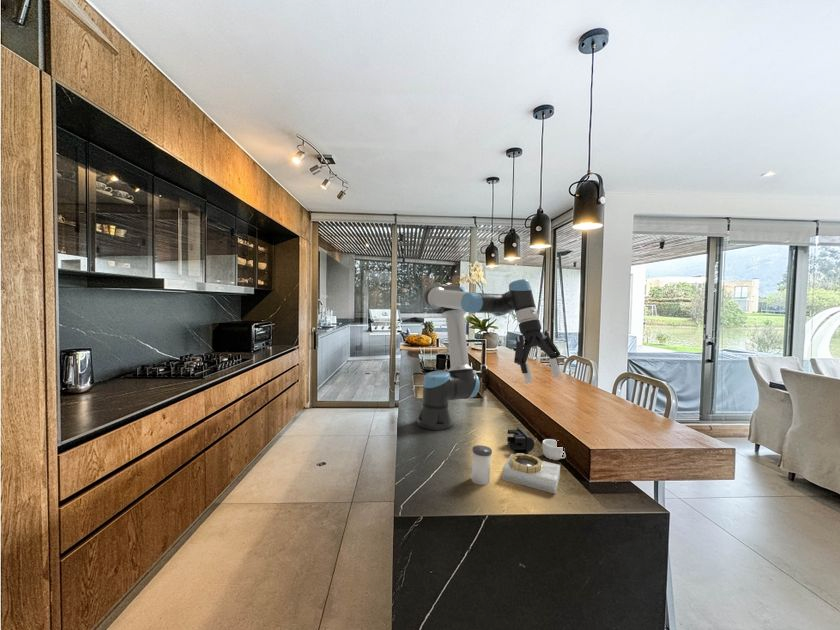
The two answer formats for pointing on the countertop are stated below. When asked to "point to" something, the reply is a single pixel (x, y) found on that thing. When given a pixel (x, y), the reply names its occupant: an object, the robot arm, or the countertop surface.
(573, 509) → the countertop surface
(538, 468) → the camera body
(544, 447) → the teacup
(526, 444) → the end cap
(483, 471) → the telephoto lens
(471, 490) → the countertop surface
